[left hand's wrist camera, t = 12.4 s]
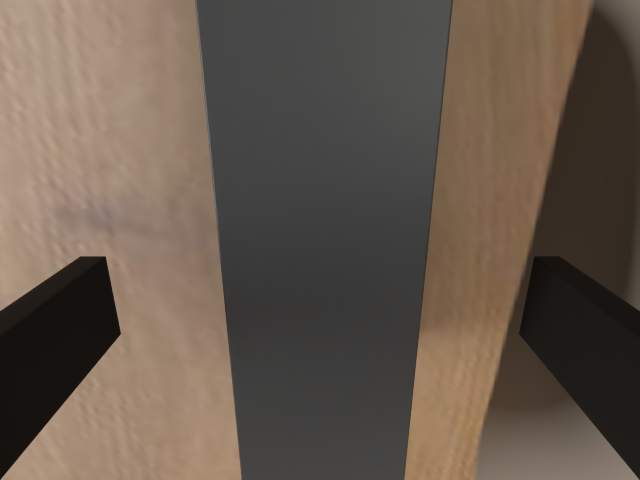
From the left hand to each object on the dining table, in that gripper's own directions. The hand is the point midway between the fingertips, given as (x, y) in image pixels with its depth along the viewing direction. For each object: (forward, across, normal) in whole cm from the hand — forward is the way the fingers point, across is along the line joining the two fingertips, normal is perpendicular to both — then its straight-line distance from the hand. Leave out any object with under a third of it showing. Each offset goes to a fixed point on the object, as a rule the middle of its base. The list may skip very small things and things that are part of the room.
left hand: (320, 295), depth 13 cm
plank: (+7, 0, -19) cm, 20 cm away
